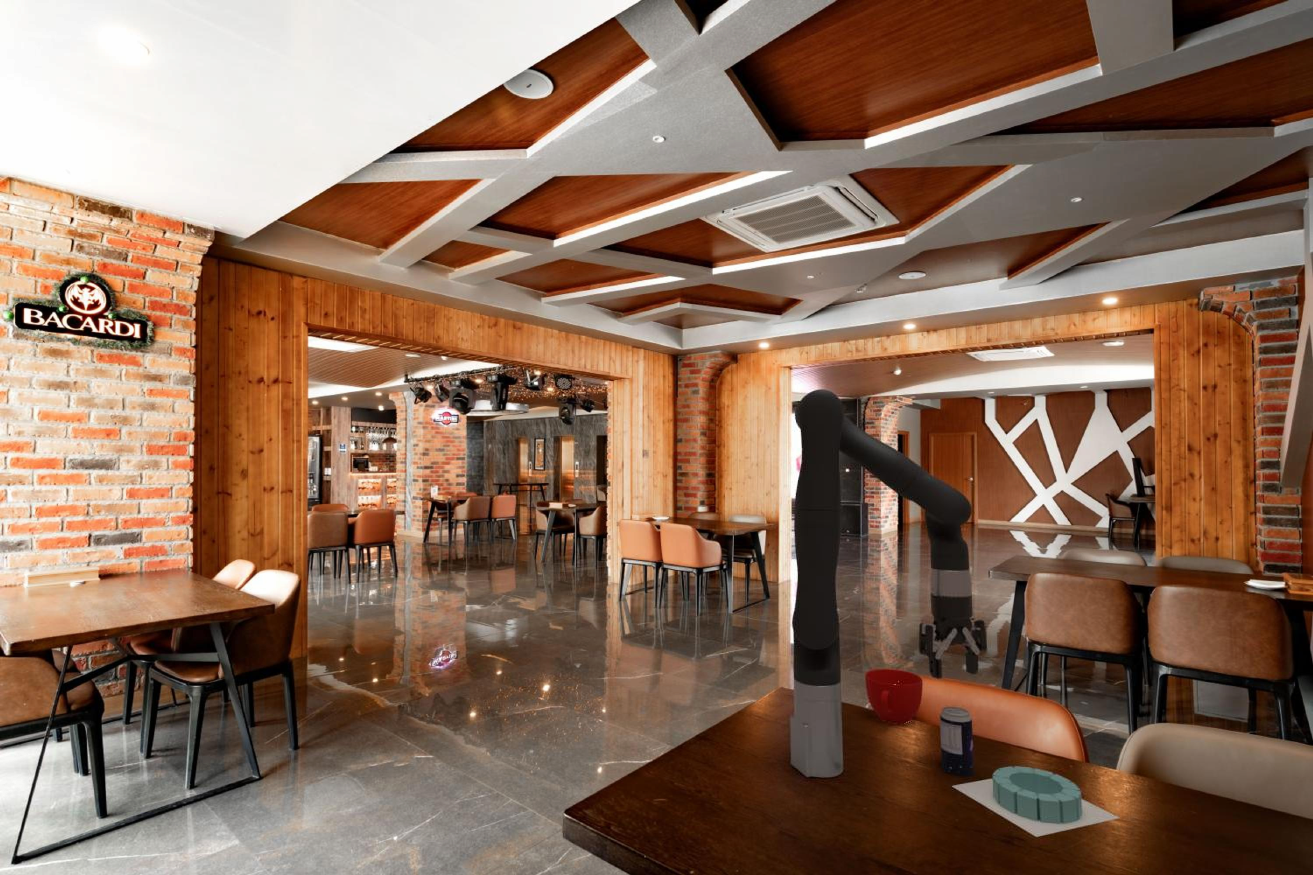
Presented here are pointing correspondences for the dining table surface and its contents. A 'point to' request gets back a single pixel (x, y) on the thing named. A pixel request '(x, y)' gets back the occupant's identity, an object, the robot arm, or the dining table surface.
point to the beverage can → (956, 741)
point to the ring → (1037, 794)
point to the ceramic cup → (894, 694)
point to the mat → (984, 795)
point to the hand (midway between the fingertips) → (954, 675)
